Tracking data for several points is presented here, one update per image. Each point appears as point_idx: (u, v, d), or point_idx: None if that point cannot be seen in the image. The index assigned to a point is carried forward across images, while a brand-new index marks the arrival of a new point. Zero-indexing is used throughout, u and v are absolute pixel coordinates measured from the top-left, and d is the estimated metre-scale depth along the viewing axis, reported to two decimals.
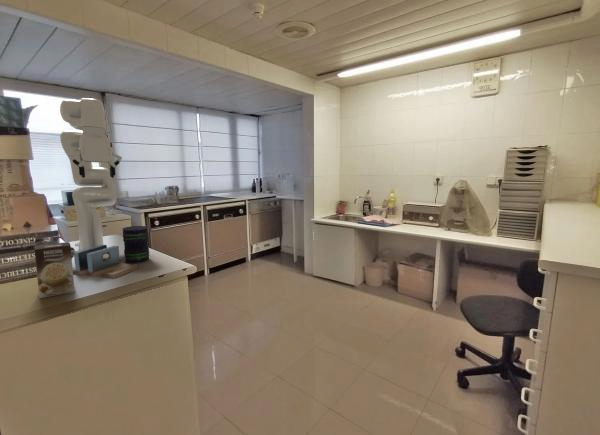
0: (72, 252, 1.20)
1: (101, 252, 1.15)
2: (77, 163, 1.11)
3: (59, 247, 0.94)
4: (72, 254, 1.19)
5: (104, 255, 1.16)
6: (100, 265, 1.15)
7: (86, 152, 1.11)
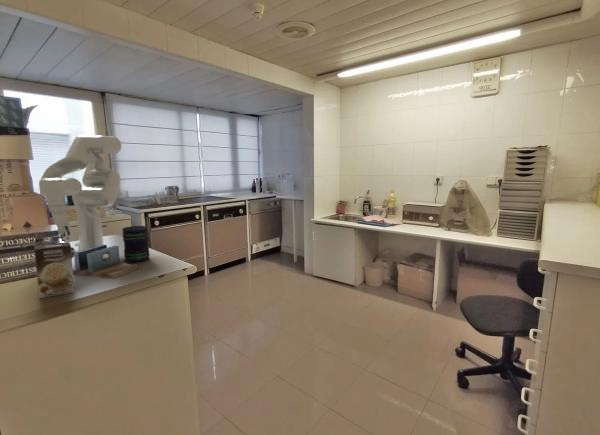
0: (72, 252, 1.20)
1: (101, 252, 1.15)
2: None
3: (59, 247, 0.94)
4: (72, 254, 1.19)
5: (104, 255, 1.16)
6: (100, 265, 1.15)
7: None
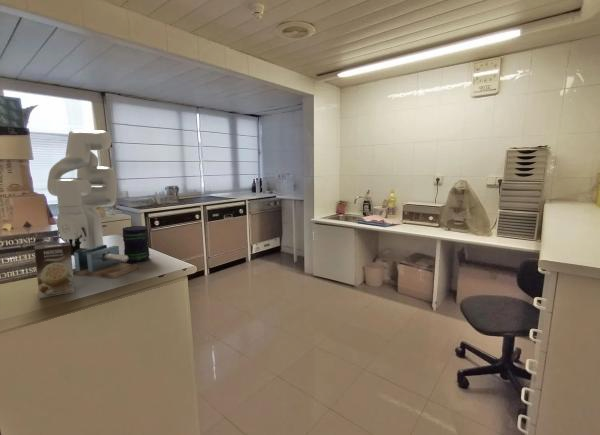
0: None
1: (101, 252, 1.15)
2: None
3: (59, 247, 0.94)
4: None
5: (122, 257, 1.15)
6: (100, 265, 1.15)
7: None
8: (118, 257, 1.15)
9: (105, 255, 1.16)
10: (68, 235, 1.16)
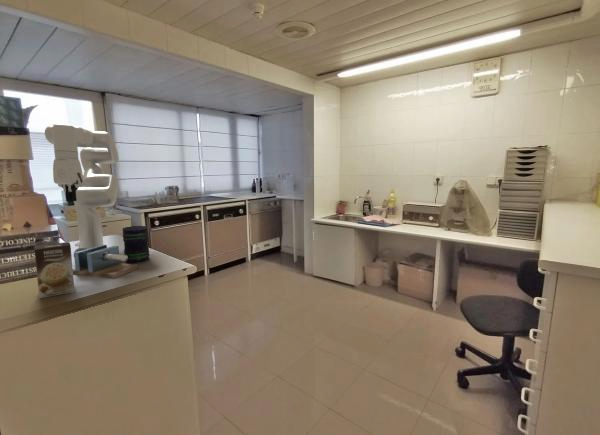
0: None
1: (101, 252, 1.15)
2: None
3: (59, 247, 0.94)
4: None
5: (121, 257, 1.15)
6: (100, 265, 1.15)
7: None
8: (117, 257, 1.15)
9: (104, 255, 1.16)
10: (64, 180, 1.18)
